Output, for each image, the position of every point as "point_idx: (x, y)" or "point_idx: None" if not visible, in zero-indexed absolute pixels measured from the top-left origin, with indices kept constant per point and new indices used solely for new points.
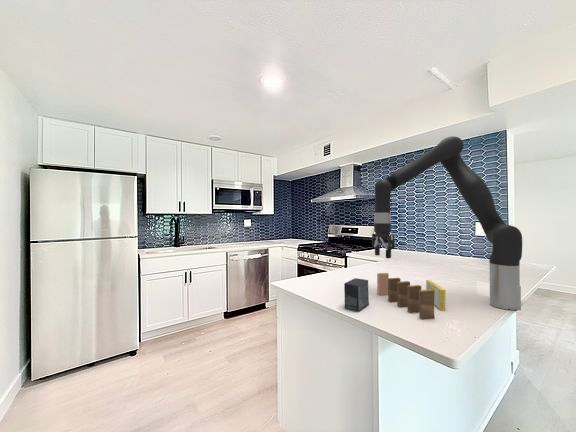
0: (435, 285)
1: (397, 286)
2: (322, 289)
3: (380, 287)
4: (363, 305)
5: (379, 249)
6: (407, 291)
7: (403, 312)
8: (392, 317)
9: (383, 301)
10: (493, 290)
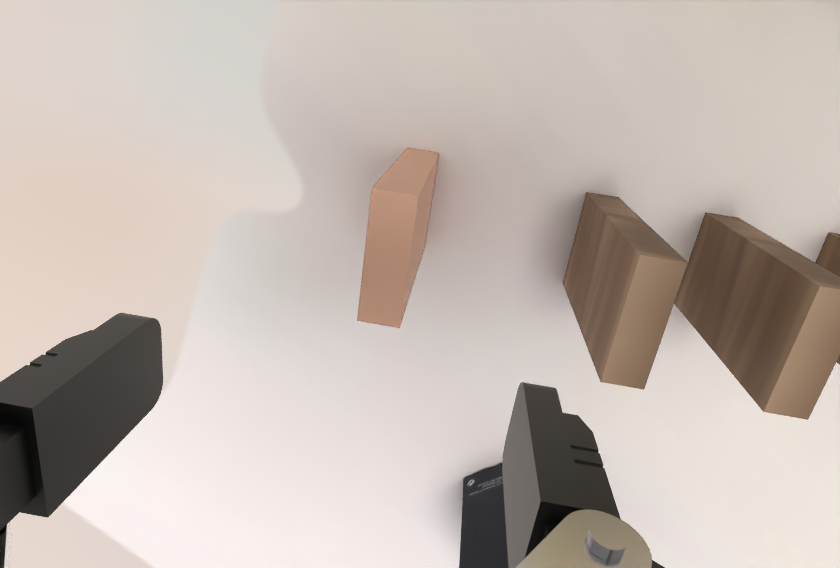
0: None
1: (748, 385)
2: (154, 505)
3: (419, 258)
4: None
5: (69, 386)
6: None
7: None
8: (785, 470)
9: (547, 317)
10: None
